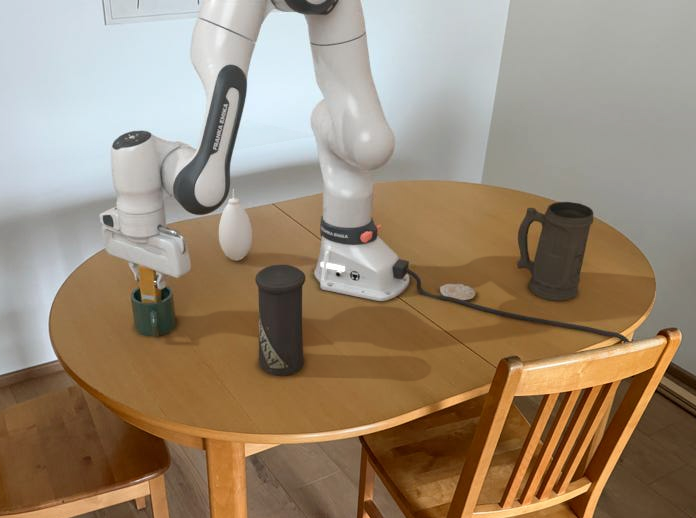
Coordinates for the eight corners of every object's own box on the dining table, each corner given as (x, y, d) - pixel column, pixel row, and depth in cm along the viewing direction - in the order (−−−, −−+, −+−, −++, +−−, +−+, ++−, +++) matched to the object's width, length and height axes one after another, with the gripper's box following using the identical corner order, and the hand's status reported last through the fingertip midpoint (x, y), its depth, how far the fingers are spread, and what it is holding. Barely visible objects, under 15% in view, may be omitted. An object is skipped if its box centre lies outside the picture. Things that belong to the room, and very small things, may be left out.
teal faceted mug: (135, 317, 152) (130, 285, 148) (174, 313, 153) (171, 282, 149) (135, 346, 142) (130, 314, 138) (178, 342, 144) (174, 310, 140)
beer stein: (583, 285, 165) (597, 202, 154) (577, 305, 157) (591, 220, 146) (515, 275, 171) (525, 195, 160) (506, 295, 163) (515, 212, 152)
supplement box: (158, 311, 145) (152, 266, 139) (142, 309, 145) (136, 265, 140) (164, 303, 148) (158, 259, 142) (148, 301, 148) (142, 257, 142)
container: (257, 352, 141) (254, 261, 130) (302, 350, 142) (303, 260, 130) (258, 378, 134) (255, 284, 123) (306, 376, 134) (307, 282, 123)
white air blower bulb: (239, 269, 170) (236, 197, 160) (214, 260, 174) (209, 190, 164) (259, 257, 176) (257, 187, 166) (234, 249, 179) (230, 180, 169)
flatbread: (476, 288, 163) (477, 285, 162) (473, 304, 157) (473, 300, 157) (441, 283, 165) (441, 279, 164) (436, 298, 159) (436, 294, 159)
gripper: (194, 227, 133) (200, 292, 141) (116, 203, 143) (125, 265, 150) (172, 238, 129) (178, 305, 137) (92, 213, 138) (103, 276, 146)
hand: (150, 284), depth 144 cm, fingers closed on supplement box, 4 cm apart
